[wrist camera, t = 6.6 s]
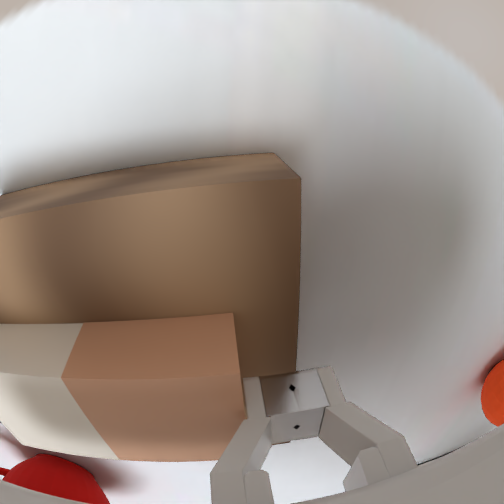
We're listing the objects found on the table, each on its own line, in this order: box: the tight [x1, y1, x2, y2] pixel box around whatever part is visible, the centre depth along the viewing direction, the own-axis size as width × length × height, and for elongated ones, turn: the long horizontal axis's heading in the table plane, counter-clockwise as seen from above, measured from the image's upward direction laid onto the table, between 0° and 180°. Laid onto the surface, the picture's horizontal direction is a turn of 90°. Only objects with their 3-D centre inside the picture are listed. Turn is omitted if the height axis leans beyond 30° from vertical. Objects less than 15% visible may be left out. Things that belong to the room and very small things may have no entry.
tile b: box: [61, 313, 246, 462], centre depth 10 cm, size 5×5×2 cm
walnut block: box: [0, 153, 301, 445], centre depth 12 cm, size 12×13×4 cm
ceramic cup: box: [0, 454, 110, 504], centre depth 17 cm, size 13×17×10 cm
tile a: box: [0, 323, 120, 460], centre depth 9 cm, size 5×5×2 cm
